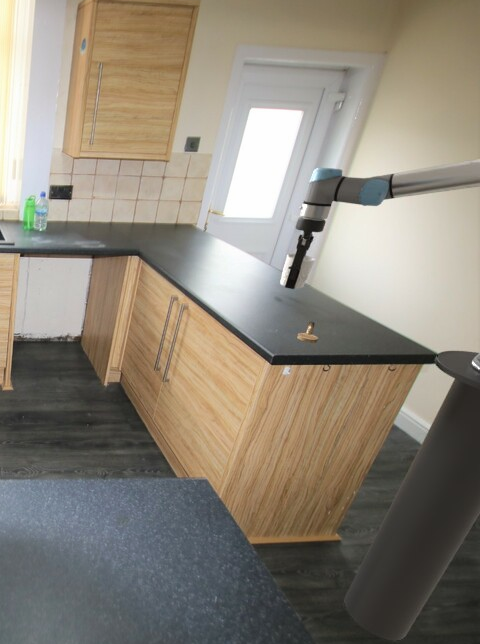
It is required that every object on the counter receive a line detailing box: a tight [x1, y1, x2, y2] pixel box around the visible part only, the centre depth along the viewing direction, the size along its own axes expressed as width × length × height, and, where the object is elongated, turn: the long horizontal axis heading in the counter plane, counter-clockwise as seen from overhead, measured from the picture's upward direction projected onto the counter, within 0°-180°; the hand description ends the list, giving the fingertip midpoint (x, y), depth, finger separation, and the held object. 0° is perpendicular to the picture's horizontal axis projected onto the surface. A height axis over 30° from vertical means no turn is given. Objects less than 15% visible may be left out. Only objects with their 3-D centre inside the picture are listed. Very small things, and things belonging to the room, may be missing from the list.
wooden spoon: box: [296, 321, 319, 344], centre depth 163 cm, size 19×6×2 cm, turn 142°
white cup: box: [279, 253, 315, 290], centre depth 159 cm, size 8×8×10 cm
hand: (290, 285), depth 161 cm, fingers closed on white cup, 8 cm apart
